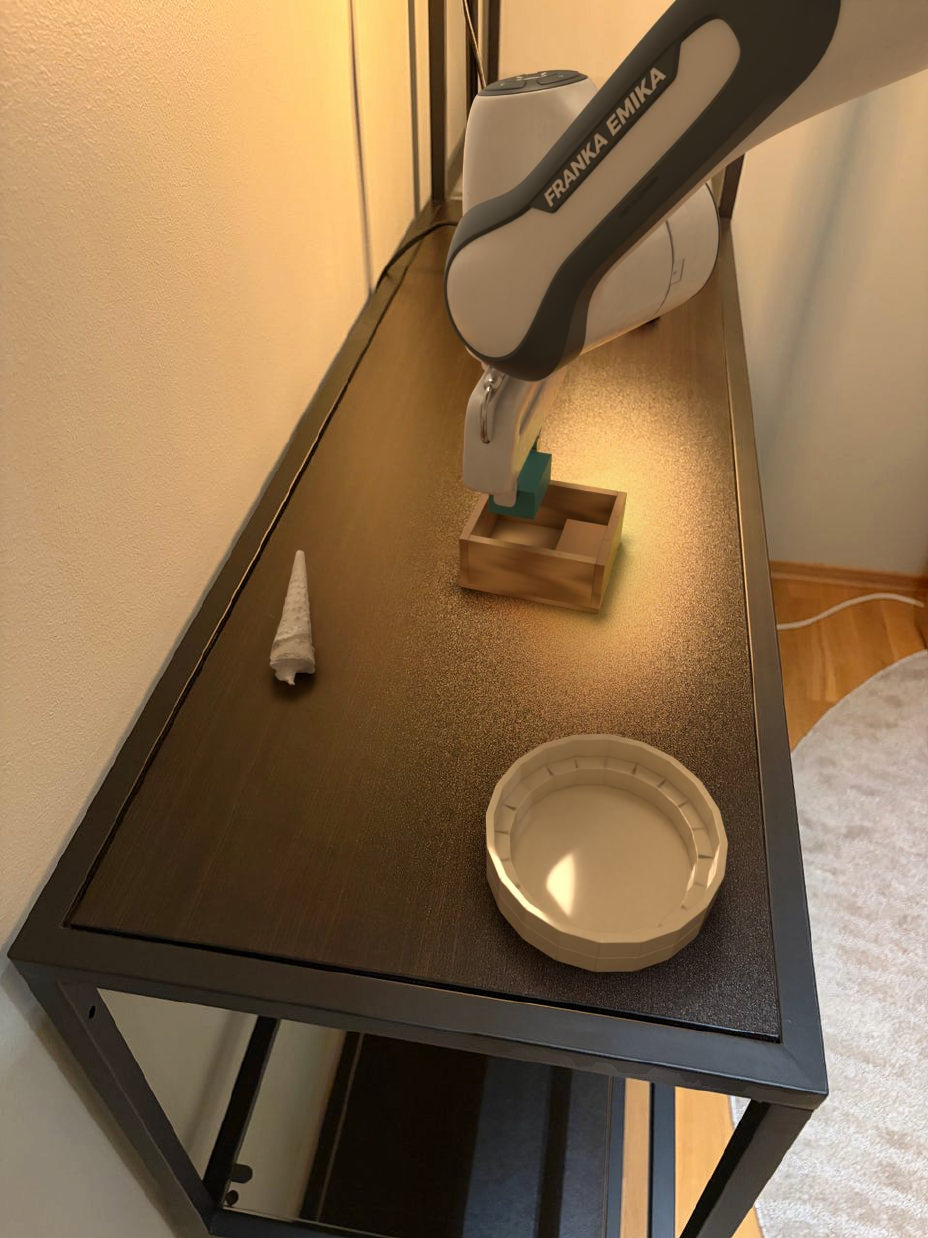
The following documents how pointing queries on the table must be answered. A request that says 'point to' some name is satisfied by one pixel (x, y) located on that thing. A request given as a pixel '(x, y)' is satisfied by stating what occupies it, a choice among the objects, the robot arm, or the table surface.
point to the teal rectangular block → (528, 487)
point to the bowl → (604, 852)
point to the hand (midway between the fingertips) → (517, 476)
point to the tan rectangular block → (581, 538)
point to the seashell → (294, 628)
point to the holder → (543, 548)
